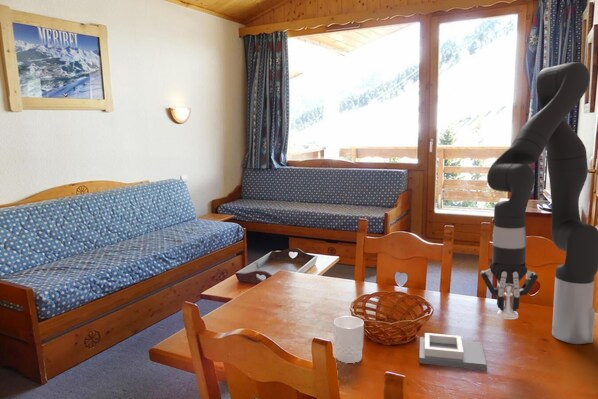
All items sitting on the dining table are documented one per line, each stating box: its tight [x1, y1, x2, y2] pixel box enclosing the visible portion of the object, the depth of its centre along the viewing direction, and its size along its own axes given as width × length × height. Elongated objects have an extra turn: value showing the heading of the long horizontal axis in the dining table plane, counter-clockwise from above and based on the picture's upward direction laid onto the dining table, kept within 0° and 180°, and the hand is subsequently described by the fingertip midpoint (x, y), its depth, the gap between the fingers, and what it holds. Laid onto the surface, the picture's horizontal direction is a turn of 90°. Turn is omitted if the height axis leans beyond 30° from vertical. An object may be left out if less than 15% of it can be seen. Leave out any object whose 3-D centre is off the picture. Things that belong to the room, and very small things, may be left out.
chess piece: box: [496, 283, 519, 320], centre depth 115 cm, size 5×5×10 cm
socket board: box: [418, 332, 487, 371], centre depth 120 cm, size 16×12×4 cm
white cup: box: [333, 315, 365, 364], centre depth 120 cm, size 8×8×10 cm
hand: (507, 309), depth 115 cm, fingers closed on chess piece
